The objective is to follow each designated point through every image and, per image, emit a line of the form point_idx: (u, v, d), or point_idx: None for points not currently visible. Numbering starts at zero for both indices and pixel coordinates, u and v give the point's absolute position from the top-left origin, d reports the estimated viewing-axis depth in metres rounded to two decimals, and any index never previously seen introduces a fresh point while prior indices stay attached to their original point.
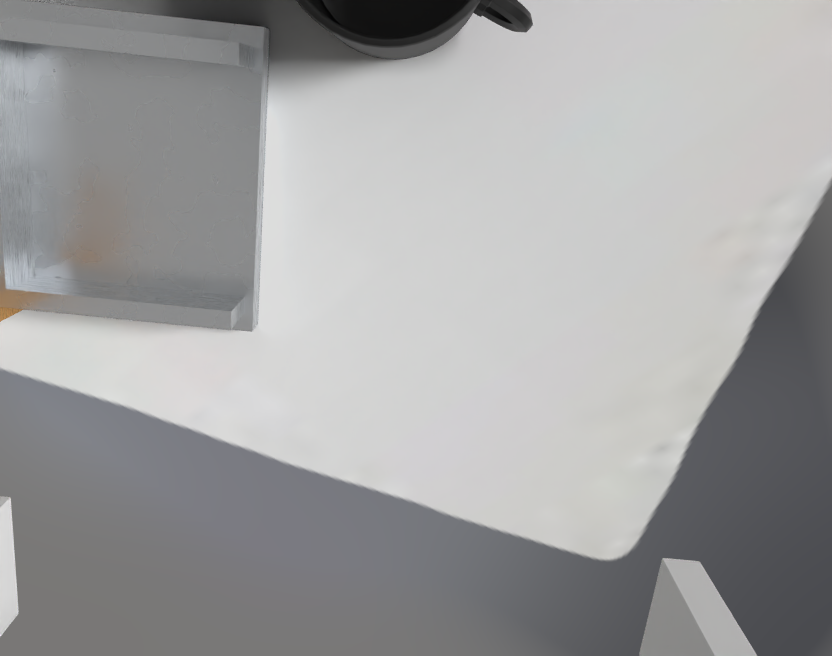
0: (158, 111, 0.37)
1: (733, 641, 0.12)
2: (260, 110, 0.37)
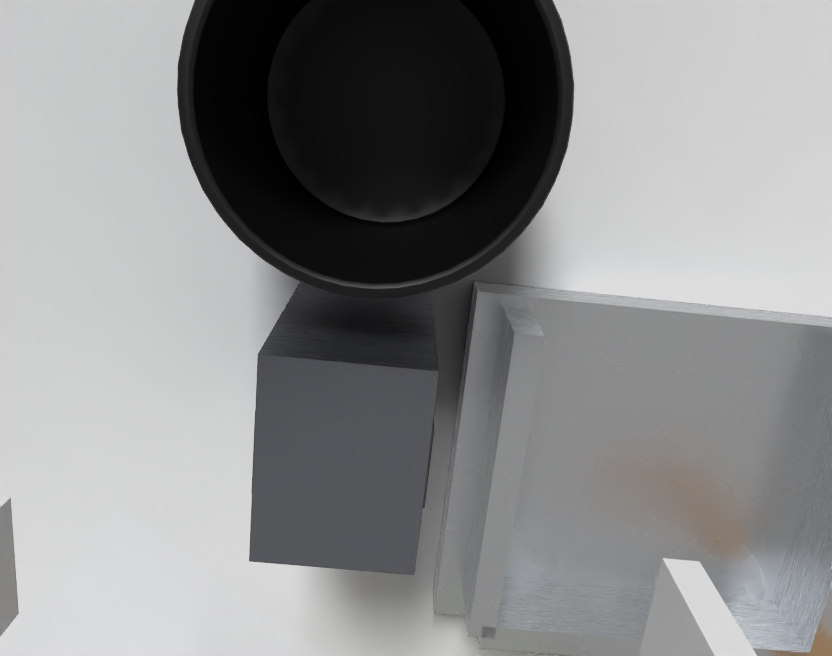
0: (577, 434, 0.28)
1: (733, 641, 0.12)
2: (586, 302, 0.26)
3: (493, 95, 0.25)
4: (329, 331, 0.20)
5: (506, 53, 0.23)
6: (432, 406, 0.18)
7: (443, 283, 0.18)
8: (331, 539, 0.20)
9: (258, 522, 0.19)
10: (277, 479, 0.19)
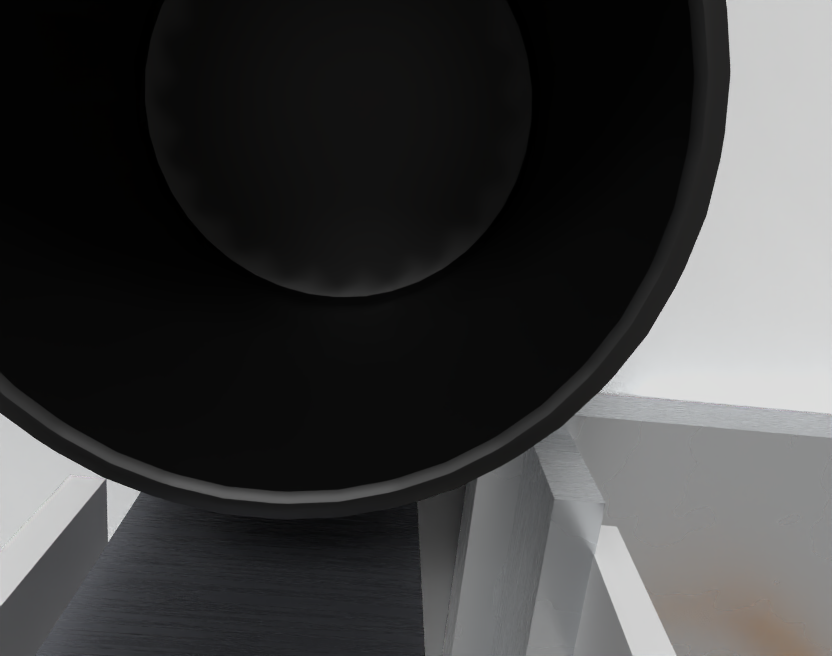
0: None
1: (634, 595, 0.13)
2: (658, 422, 0.17)
3: (513, 97, 0.16)
4: (214, 551, 0.10)
5: (539, 26, 0.14)
6: None
7: (434, 491, 0.09)
8: None
9: None
10: None
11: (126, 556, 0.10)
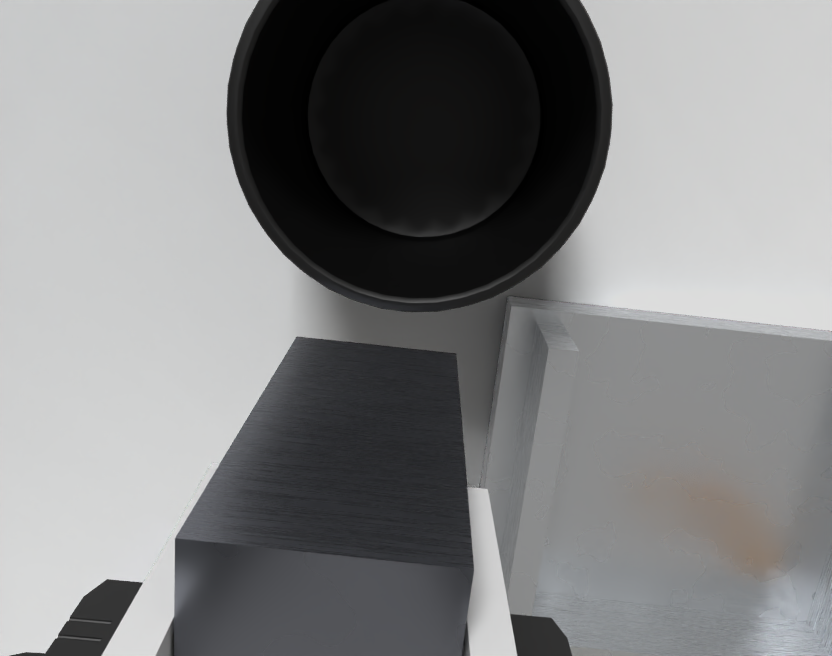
0: (609, 449, 0.28)
1: (484, 547, 0.14)
2: (620, 318, 0.27)
3: (529, 113, 0.26)
4: (302, 474, 0.13)
5: (543, 72, 0.24)
6: (462, 623, 0.11)
7: (481, 298, 0.19)
8: None
9: None
10: None
11: (234, 475, 0.13)
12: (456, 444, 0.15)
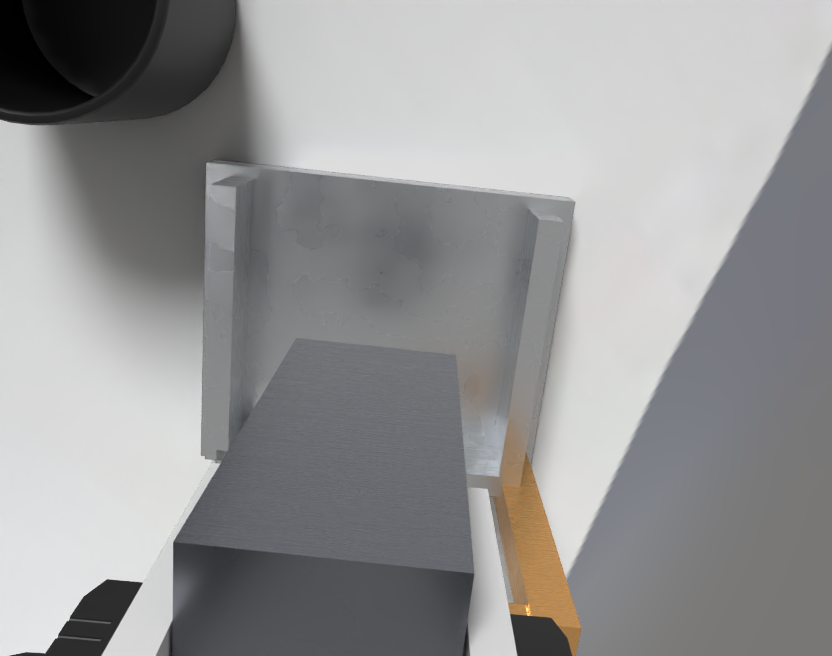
0: (305, 291, 0.33)
1: (484, 547, 0.14)
2: (299, 172, 0.31)
3: None
4: (302, 477, 0.13)
5: None
6: (463, 627, 0.11)
7: (86, 111, 0.23)
8: None
9: None
10: None
11: (233, 477, 0.13)
12: (456, 446, 0.15)
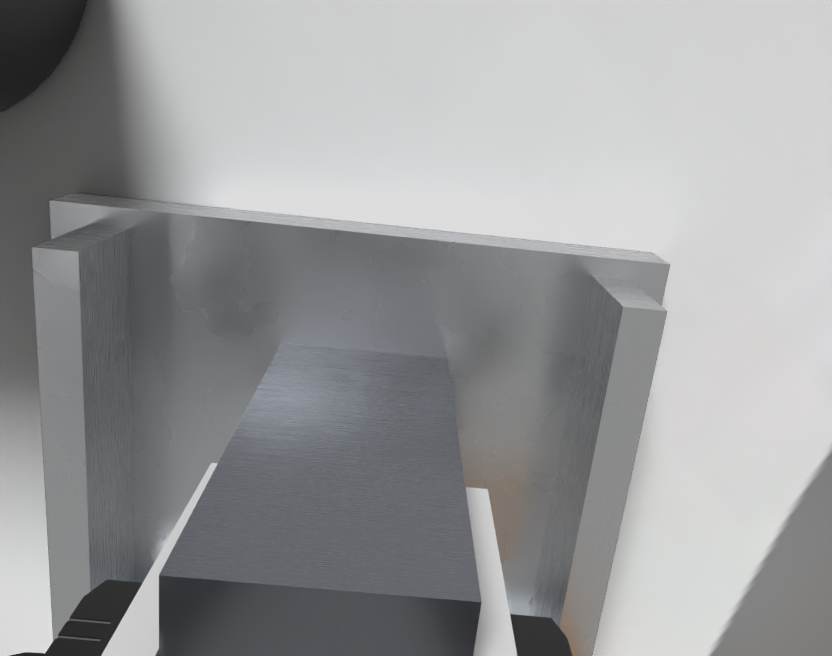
0: (225, 407, 0.20)
1: (484, 547, 0.14)
2: (209, 217, 0.19)
3: None
4: (294, 497, 0.12)
5: None
6: None
7: None
8: None
9: None
10: None
11: (221, 499, 0.12)
12: (454, 459, 0.14)
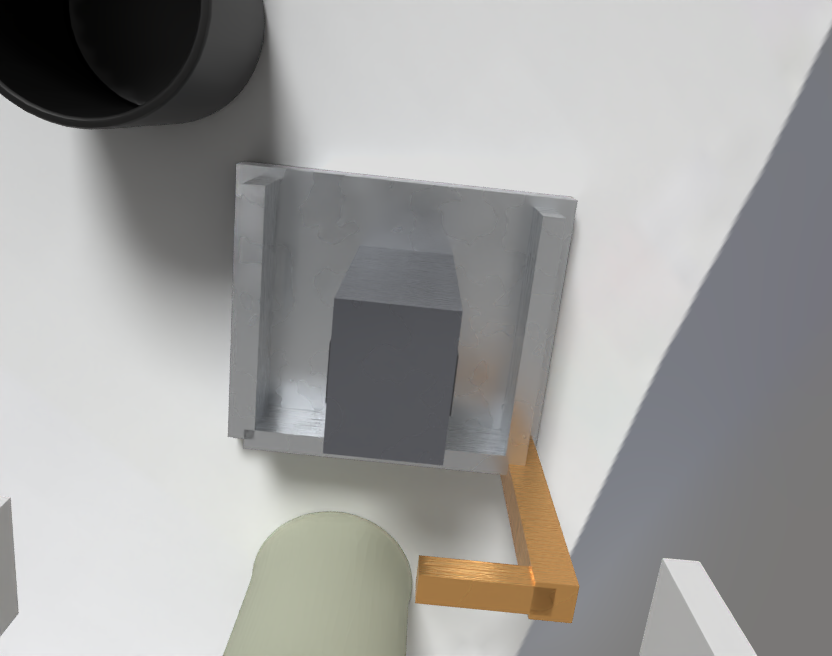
0: (326, 283, 0.35)
1: (733, 641, 0.12)
2: (322, 173, 0.34)
3: None
4: (381, 286, 0.28)
5: None
6: (457, 337, 0.26)
7: (134, 117, 0.26)
8: (383, 437, 0.27)
9: (330, 423, 0.27)
10: (345, 391, 0.26)
11: (350, 285, 0.27)
12: (454, 282, 0.29)
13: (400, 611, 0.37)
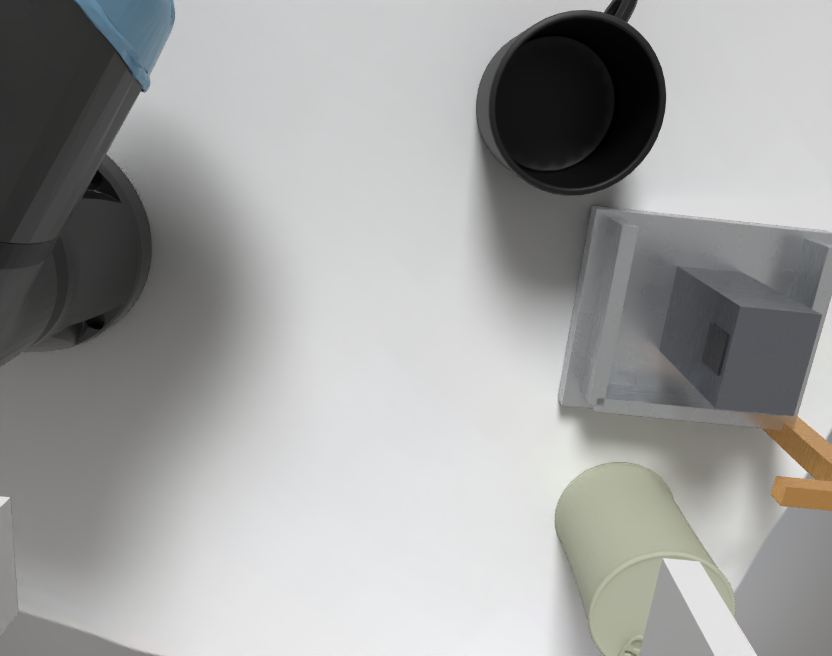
0: (649, 293, 0.49)
1: (733, 641, 0.12)
2: (656, 215, 0.48)
3: (608, 100, 0.47)
4: (749, 297, 0.41)
5: (619, 78, 0.45)
6: (816, 331, 0.40)
7: (602, 187, 0.40)
8: (757, 397, 0.41)
9: (723, 388, 0.41)
10: (737, 366, 0.40)
11: (731, 297, 0.41)
12: (782, 294, 0.43)
13: None
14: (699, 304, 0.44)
